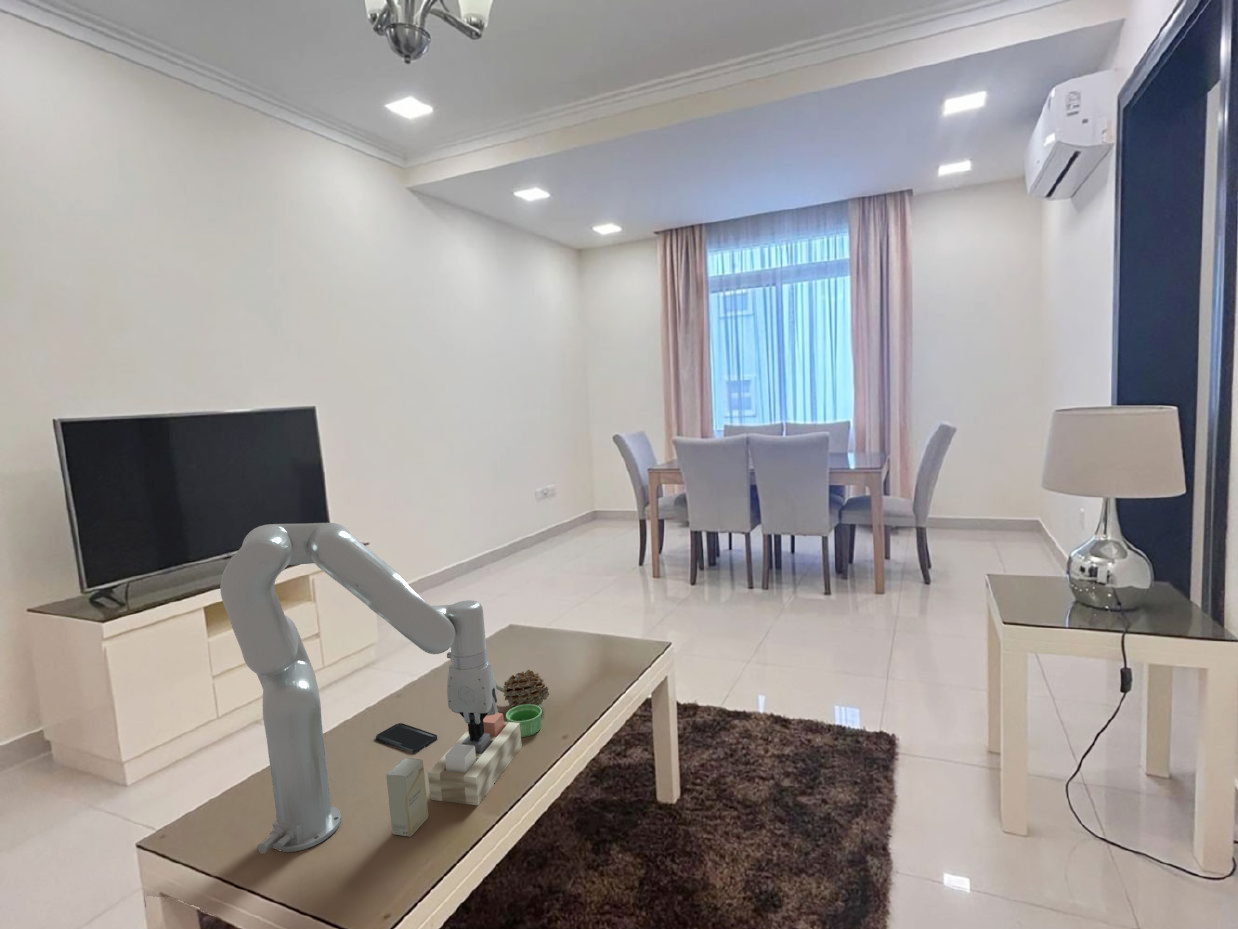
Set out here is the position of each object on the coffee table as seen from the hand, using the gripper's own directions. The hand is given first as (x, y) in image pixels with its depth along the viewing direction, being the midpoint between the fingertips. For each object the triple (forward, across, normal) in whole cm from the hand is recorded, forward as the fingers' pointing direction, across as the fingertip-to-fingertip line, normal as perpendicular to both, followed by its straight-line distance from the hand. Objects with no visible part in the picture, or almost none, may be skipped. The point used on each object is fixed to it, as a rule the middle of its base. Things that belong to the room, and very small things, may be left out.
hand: (477, 737), depth 140 cm
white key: (+4, 0, -7) cm, 8 cm away
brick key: (+4, 0, +7) cm, 8 cm away
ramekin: (+8, +3, +19) cm, 21 cm away
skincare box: (+8, -5, -19) cm, 21 cm away
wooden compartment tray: (+8, 0, 0) cm, 8 cm away
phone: (+8, -25, +10) cm, 28 cm away
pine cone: (+8, -5, +31) cm, 32 cm away
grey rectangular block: (+6, 0, 0) cm, 6 cm away
